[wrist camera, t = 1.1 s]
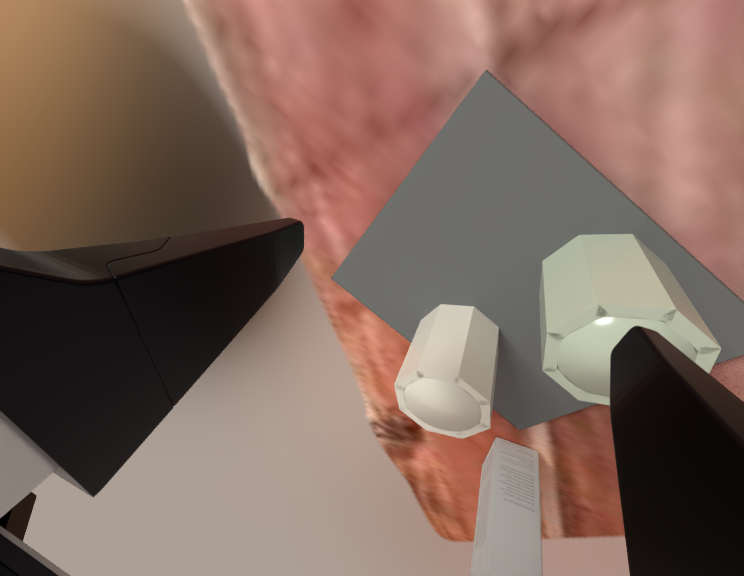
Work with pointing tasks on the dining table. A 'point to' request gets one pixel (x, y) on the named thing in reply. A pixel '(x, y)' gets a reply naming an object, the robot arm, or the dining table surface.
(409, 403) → the cream cup
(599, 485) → the dining table surface
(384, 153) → the dining table surface
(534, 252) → the mat
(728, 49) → the dining table surface
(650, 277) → the sage cup
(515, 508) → the skincare box
